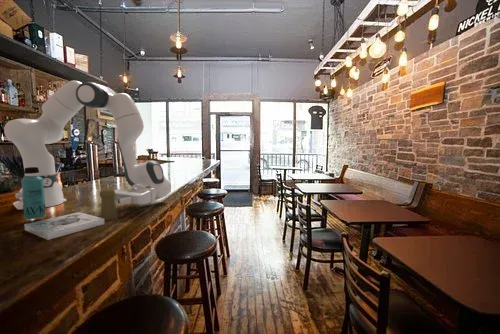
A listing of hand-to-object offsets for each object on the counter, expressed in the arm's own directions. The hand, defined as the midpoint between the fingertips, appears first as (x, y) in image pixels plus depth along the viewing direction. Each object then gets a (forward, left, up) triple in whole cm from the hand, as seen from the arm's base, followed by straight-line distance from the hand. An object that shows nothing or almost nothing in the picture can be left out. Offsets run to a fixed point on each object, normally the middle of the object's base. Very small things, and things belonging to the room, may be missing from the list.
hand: (110, 200), depth 101 cm
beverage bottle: (-20, -17, -7) cm, 27 cm away
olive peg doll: (0, -1, -7) cm, 7 cm away
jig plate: (-2, -15, -6) cm, 17 cm away
